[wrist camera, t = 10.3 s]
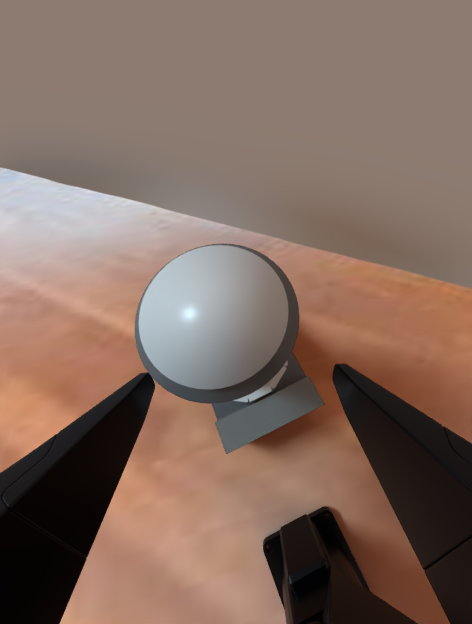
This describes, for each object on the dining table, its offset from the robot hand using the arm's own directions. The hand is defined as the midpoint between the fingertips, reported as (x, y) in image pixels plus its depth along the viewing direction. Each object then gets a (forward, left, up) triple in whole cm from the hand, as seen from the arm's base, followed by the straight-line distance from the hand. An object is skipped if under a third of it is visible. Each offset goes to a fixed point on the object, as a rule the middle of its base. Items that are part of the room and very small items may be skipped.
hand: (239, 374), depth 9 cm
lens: (+2, 0, -9) cm, 9 cm away
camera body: (+1, 0, -12) cm, 12 cm away
